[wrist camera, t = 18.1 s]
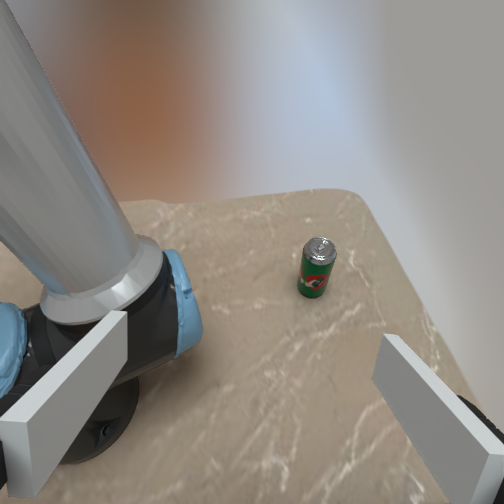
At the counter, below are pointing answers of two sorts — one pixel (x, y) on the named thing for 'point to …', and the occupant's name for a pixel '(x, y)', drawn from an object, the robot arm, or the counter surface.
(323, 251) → the soda can
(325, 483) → the counter surface
